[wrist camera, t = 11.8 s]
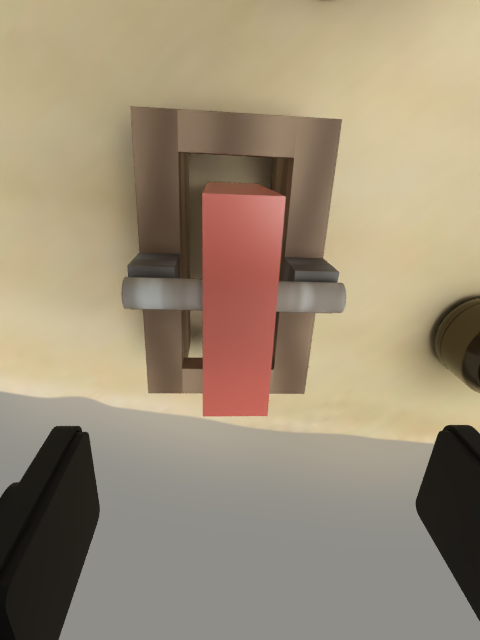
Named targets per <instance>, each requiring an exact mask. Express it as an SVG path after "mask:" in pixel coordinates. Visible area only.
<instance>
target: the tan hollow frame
mask: <svg viewBox="0 0 480 640" xmlns="http://www.w3.org/2000/svg"><path fill="white" fill-rule="evenodd" d="M130 107H131V123H132V139H133V155H134V171H135V187H136V203H137V219H138V235H139V251H140V253H139V254H138V255H137V256H136V257H135V258H134V259H133V260H132V261H131V263H130V264H129V265H128V277H125V278H124V279H123V283H122V303H123V306H124V308H125V309H143V315H144V331H145V347H146V363H147V379H148V393H203V358H188V354H189V347H190V310H203V279H190V274H189V158H188V153H196V154H215V155H234V156H253V157H272V158H273V169H272V182H271V190H273V191H275V192H277V193H279V194H282V195H284V196H286V201H285V212H284V224H283V236H282V248H281V260H280V272H279V283H278V295H277V307H276V319H275V331H274V342H273V354H272V366H271V378H270V390H269V394H304V392H305V385H306V378H307V370H308V363H309V356H310V348H311V341H312V334H313V327H314V319H315V313H341V312H342V311H343V310H344V307H345V303H346V290H345V286H344V284H343V283H337V282H338V276H339V271H337V270H336V269H335V268H334V267H333V266H331V265H330V264H329V263H328V262H327V261H325V260H324V259H323V254H324V246H325V239H326V232H327V225H328V217H329V210H330V203H331V195H332V188H333V181H334V174H335V166H336V159H337V152H338V144H339V137H340V130H341V123H342V119H327V118H311V117H295V116H279V115H263V114H247V113H231V112H214V111H198V110H182V109H166V108H150V107H134V106H130Z"/></svg>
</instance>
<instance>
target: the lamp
mask: <svg viewBox="0 0 480 640" xmlns="http://www.w3.org/2000/svg"><path fill="white" fill-rule="evenodd" d="M435 349H436V353H437V356H438V358H439V360H440V361H441V362H442V364H443V365H444V366H445V367H446V368H448V369H449V370H450V371H451V372H452V373H453V374H455V375H456V376H457V377H458V378H459V379H460V380H461V381H463V382H464V383H465V384H466V385H467V386H468V387H470V388H471V389H472V390H474V391H476V392H478V393H480V298H479V299H474V300H470V301H468V302H465V303H463V304H461V305H459V306H458V307H456V308H455V309H453V310H452V311H451V312H450V313H449V314H448V315H447V316H446V317H445V318H444V319H443V321H442V322H441V324H440V326H439V328H438V330H437V333H436V337H435Z"/></svg>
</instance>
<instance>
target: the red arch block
mask: <svg viewBox="0 0 480 640" xmlns="http://www.w3.org/2000/svg"><path fill="white" fill-rule="evenodd" d="M285 201H286V196H284V195H282V194H279V193H277V192H275V191H273V190H271V189H268V188H266V187H264V186H262V185H259V184H255V183H230V182H208V183H207V185H206V187H205V189H204V191H203V193H202V259H203V416H267V413H268V401H269V390H270V378H271V366H272V354H273V342H274V331H275V319H276V307H277V295H278V283H279V272H280V260H281V248H282V236H283V224H284V212H285Z"/></svg>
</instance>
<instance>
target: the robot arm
mask: <svg viewBox="0 0 480 640" xmlns="http://www.w3.org/2000/svg"><path fill="white" fill-rule="evenodd" d="M416 509H417V513H418V515H419V517H420V518H421V520H422V522H423V524H424V525H425V527H426V529H427V530H428V532H429V534H430V536H431V538H432V539H433V541H434V543H435V545H436V546H437V548H438V550H439V551H440V553H441V555H442V557H443V558H444V560H445V562H446V564H447V565H448V567H449V569H450V570H451V572H452V574H453V576H454V577H455V579H456V581H457V582H458V584H459V586H460V588H461V590H462V591H463V593H464V595H465V597H466V598H467V600H468V602H469V603H470V605H471V607H472V609H473V610H474V612H475V614H476V615H477V617H478V619H479V621H480V434H479V433H478V432H477V430H476V429H474V428H473V427H472V426H469V425H448V426H446V427H444V429H443V431H440V432H439V433H438V436H437V439H436V442H435V445H434V448H433V451H432V454H431V457H430V460H429V463H428V466H427V469H426V472H425V475H424V478H423V481H422V484H421V487H420V490H419V493H418V496H417V499H416ZM99 512H100V507H99V499H98V493H97V486H96V479H95V473H94V466H93V459H92V453H91V446H90V440H89V434H88V433H87V432H82V429H81V427H80V426H56V427H54V428H53V429H52V431H51V432H50V434H49V436H48V437H47V439H46V441H45V442H44V444H43V445H42V447H41V448H40V450H39V452H38V453H37V455H36V457H35V458H34V460H33V462H32V463H31V465H30V466H29V468H28V469H27V471H26V473H25V474H24V476H23V477H22V479H21V481H20V482H18V483H13V484H11V485H10V486H9V487H8V488H7V489H6V490H5V492H4V493H3V495H2V496H1V498H0V640H58V639H59V636H60V633H61V630H62V627H63V624H64V621H65V618H66V615H67V612H68V609H69V606H70V603H71V600H72V597H73V594H74V591H75V588H76V585H77V582H78V579H79V576H80V573H81V570H82V568H83V565H84V562H85V559H86V556H87V553H88V550H89V546H90V544H91V541H92V538H93V535H94V532H95V528H96V525H97V522H98V518H99Z"/></svg>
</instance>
